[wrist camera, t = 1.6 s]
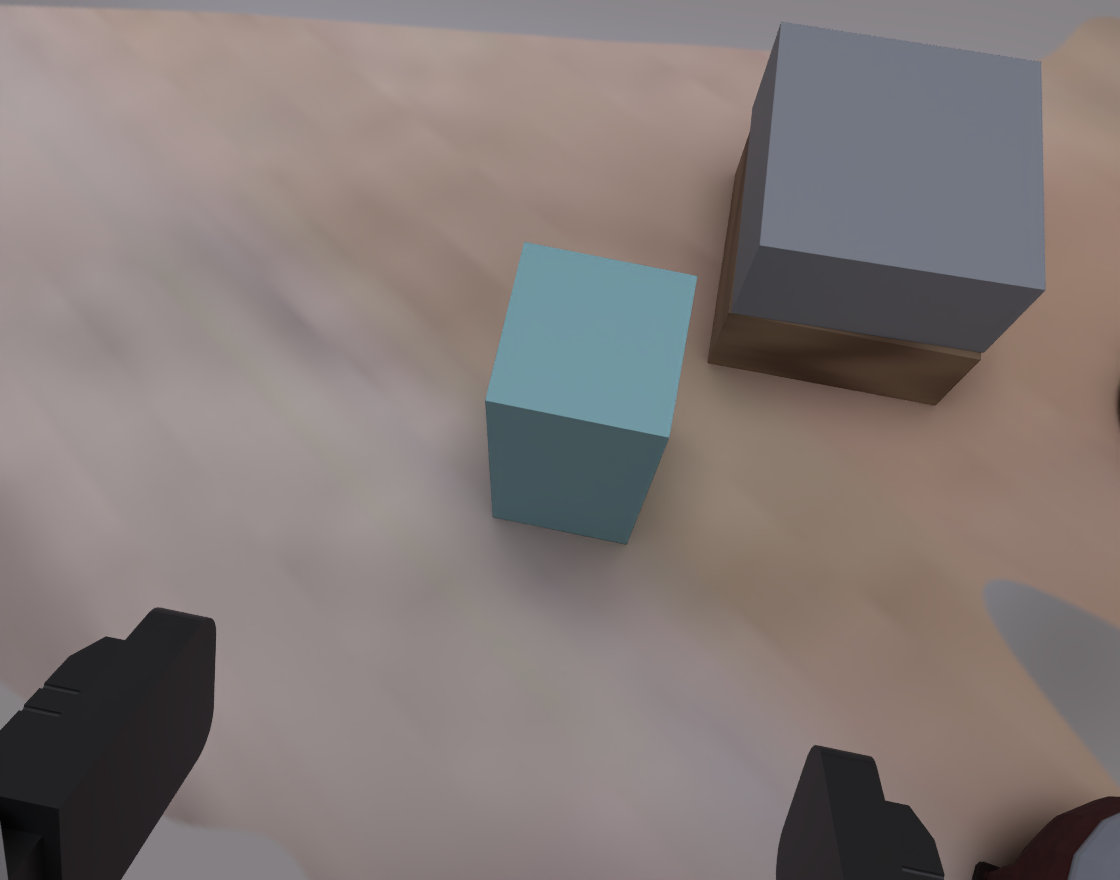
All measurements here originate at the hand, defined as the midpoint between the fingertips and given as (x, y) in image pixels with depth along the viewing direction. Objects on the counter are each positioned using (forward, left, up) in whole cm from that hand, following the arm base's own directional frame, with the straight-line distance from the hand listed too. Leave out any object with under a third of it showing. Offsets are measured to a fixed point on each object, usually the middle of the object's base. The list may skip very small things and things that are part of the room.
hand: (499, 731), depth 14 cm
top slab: (+3, +23, -18) cm, 30 cm away
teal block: (-3, +11, -22) cm, 25 cm away
